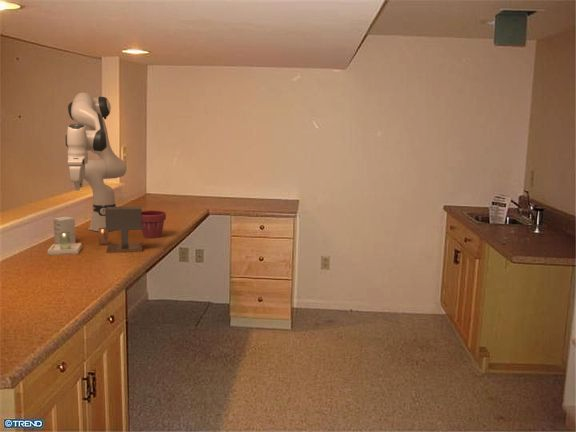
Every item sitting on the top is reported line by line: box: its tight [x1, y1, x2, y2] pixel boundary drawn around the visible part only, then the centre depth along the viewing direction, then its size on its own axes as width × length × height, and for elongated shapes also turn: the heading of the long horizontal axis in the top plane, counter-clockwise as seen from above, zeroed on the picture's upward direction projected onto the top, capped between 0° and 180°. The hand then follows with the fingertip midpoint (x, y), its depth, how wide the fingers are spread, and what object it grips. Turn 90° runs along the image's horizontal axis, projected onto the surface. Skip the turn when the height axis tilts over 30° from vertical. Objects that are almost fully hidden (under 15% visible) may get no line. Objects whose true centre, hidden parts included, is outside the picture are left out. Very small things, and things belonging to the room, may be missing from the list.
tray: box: [47, 242, 83, 256], centre depth 267 cm, size 13×13×2 cm
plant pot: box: [141, 210, 167, 239], centre depth 300 cm, size 14×14×13 cm
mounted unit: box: [105, 205, 144, 254], centre depth 271 cm, size 12×16×20 cm
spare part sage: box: [59, 232, 71, 250], centre depth 266 cm, size 4×4×8 cm
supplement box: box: [53, 216, 77, 244], centre depth 282 cm, size 7×7×13 cm
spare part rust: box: [97, 228, 110, 247], centre depth 281 cm, size 4×4×8 cm
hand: (79, 188), depth 270 cm, fingers open, 8 cm apart
